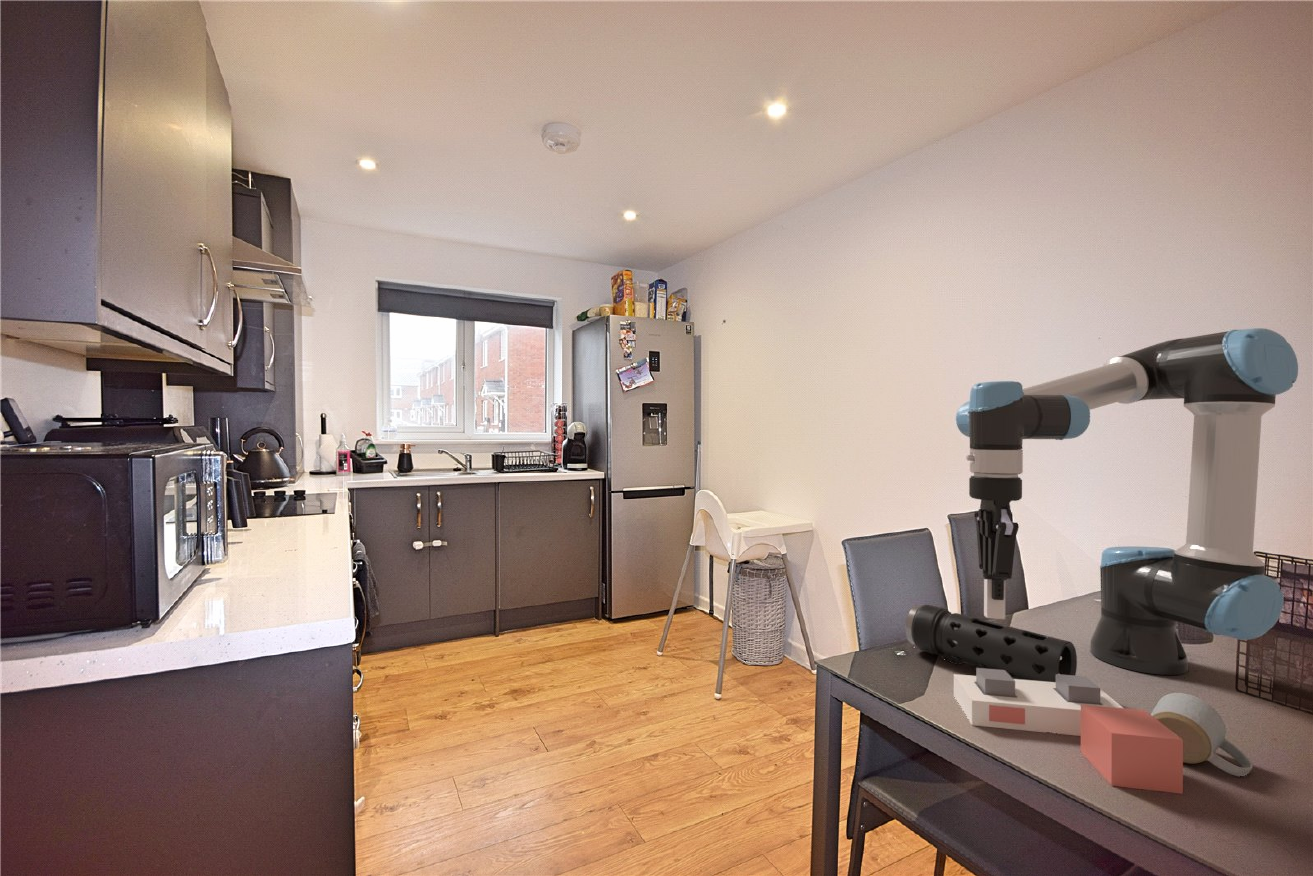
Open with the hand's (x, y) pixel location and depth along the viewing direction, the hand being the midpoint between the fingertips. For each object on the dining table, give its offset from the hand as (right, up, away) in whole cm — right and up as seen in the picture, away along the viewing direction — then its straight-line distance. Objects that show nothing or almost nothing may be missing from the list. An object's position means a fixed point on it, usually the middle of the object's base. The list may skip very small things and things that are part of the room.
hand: (994, 617), depth 94 cm
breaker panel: (+6, -16, -1) cm, 17 cm away
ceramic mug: (+21, -16, -13) cm, 30 cm away
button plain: (+12, -14, -2) cm, 18 cm away
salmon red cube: (+9, -16, -16) cm, 25 cm away
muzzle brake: (+8, -16, +17) cm, 25 cm away
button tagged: (0, -14, 0) cm, 14 cm away
